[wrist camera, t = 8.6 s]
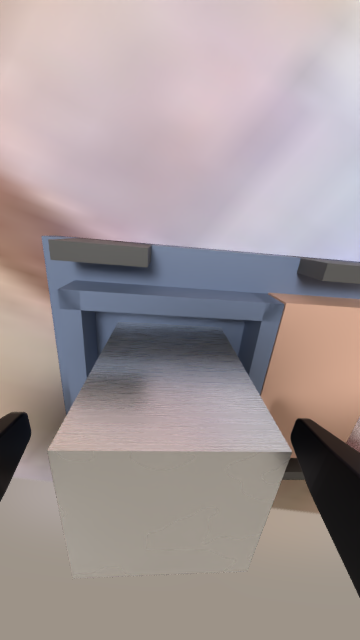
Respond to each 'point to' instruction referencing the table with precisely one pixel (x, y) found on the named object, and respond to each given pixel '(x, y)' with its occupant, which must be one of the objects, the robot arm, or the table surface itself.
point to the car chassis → (219, 318)
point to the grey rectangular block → (166, 457)
